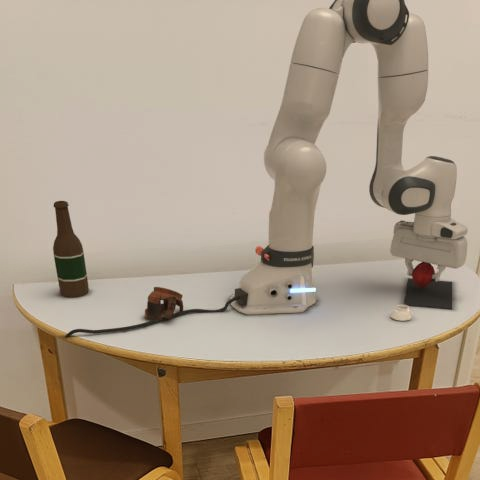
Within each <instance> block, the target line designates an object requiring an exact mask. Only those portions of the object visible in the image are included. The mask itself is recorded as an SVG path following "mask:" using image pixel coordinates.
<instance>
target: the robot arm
mask: <svg viewBox="0 0 480 480" xmlns="http://www.w3.org/2000/svg"><path fill="white" fill-rule="evenodd" d="M354 43H356V44H357V43H358V44H370V45H372V47H373V49H374V51H375V54H376V60H377V100H378V101H377V102H378V103H377V105H378V107H377V108H378V109H377V124H376V125H377V127H376V148H375V149H376V150H375V151H376V153H375V165H374V170H373V173H372V176H371V178H370V181H369V185H368V187H369V188H368V189H369V190H368V191H369V196H370V199H371V200H372V202H373V203H374V204H375V205H377V206H378V207H380V208H384V209H386V210H387V211H389V212H392V213H394V214H397V215H400V216H409V215H413V214H414V218H413V221H406V220H399V221H398V222H397V221H396V223H395V224H394V226H393V236H392V239H391V242H390V248H389V252H390V254H391V256H392V257H397V258H401V259H404V264H405V266H406V269H407V273H406V275H407V276H408V277H409V276H410V277H412V273H413V270H414V268H415V267H414V265H413V262H414V261H416V262H420V263H422V262H426V263H430V264H431V265H436V266H437V267H436V269H437V271H436V272H435V273H434V274H432V279H431V280H432V281H436V282H437V281H440V279H441V275H442V274H443V272H444V271H445V270H446V269H447V268H449V269H450V268H451V269H455V270H456V269H460V268H461V267H463V266H464V265H465V264H466V261H467V255H468V241H467V240H468V239H467V238H466V237H465V236H466V235H467V234H468V231H469V228H468V227H467V226H466V225H464V224H463V223H461V222H459V221H457V220H456V219H454V218H453V217H452V202H453V200H454V198H455V194H456V186H457V177H458V176H457V175H458V169H457V165H456V163H455V161H453V160H452V159H449V158H444V157H441V156H437V155H436V156H435V155H429V156H426V157H425V158H424V160H422V161H421V162H420V163H419V164H417V165H415V166H413V167H411V168H409V169H407V170H405V169H404V166H403V163H402V162H403V161H402V159H403V157H402V155H403V140H404V138H403V137H404V130H405V127H406V124H407V122H408V121H409V120H410V118H411V117H413V116H414V115H415V114H416V113H418V111H419V110H420V109H421V108H422V106H423V105H424V103H425V101H426V96H427V93H428V87H429V47H428V46H429V45H428V38H427V31H426V25H425V23H424V20H423V19H422V18H421V17H420V16H419V15H417V14H414V13H410V11H409V9H408V6H407V5H406V3H405V0H334V1H333V2H332V4H331V5H330V6H329V7H319V8H315V9H312V10H310V11H309V12H308V13H307V14H306V15H305V16H304V18H303V21H302V23H301V25H300V29H299V31H298V34H297V37H296V40H295V44H294V45H293V46H294V47H293V50H292V54H291V58H290V63H289V67H288V72H287V76H286V81H285V85H284V86H285V87H284V91H283V94H282V95H283V97H282V100H281V103H280V107H279V109H278V113H277V116H276V119H275V121H274V125H273V127H272V130H271V134H270V136H269V140H268V143H267V144H266V147H265V149H264V152H263V164H264V168H265V171H266V173H267V174H268V176H269V177H270V178H271V179H273V181H274V191H273V196H272V201H271V207H270V210H269V213H268V243H267V244H268V245H267V246H266V247H264V248H263V247H262V246H260V245H257V246H256V248H255V250H254V251H255V253H256V254H257V255H258V256H260V261H259V262H258V263H257V264H256V265H254V267H253V266H252V268H251V269H250V270H249V271H247V272H246V273H245V274H243V275H242V276H241V278H240V281H239V285H238V288H234V293H232V294H231V295H230V297H229V300H228V301H226V303H225V304H224V306H223V307H222V308H219V309H204V308H192V309H186V310H183V311H181V312H180V311H178V312H174V314H173V317H172V318H176V317H179V316H182V315H187V314H191V313H201V314H202V313H203V314H205V313H207V314H208V313H210V314H211V313H222V312H225V311H226V310H227V309H228V308H229V306H230V305H231V306H232V308H233V309H235V310H236V311H237V312H239V313H241V314H244V315H266V314H292V313H294V314H295V313H296V314H297V313H303V312H305V311H306V310H307V308H309V307H312V306H313V305H314V304H315V303H317V299H316V295H315V292H316V289H317V288H316V287H314V281H313V267H314V261H315V246H314V245H313V242H314V241H313V240H314V238H313V237H314V222H315V213H316V208H317V203H318V200H319V199H318V198H319V195H320V191H321V186H322V183H323V181H324V180H325V177H326V174H327V162H326V158H325V155H324V154H323V153H322V151H321V149H320V148H319V147H318V146H317V145H316V142H317V139H318V136H319V134H320V132H321V129H322V128H323V125H324V123H325V121H326V120H327V119H328V117H329V115H330V113H331V110H332V106H333V101H334V97H335V94H336V89H337V86H338V85H337V84H338V81H339V77H340V72H341V69H342V63H343V59H344V57H345V54H346V52H347V50H348V49H349V47H350V46H351V44H354ZM172 318H169V319H166V318H165V317H164V316H162V318H161V319H155V320H149V321H146V322H141V323H138V324H133V325H129V326H128V325H127V326H122V327H114V328H103V329H87V328H76V329H72V330H70V331H69V332H68V333H66V335H65V336H64V338H70V337H71V336H72V335H75V334H78V333H83V334H95V335H96V334H105V333H116V332H124V331H130V330H134V329H140V328H145V327H146V326H151V325H153V324H157V323H161V322H164V321H166V320H170V319H172ZM160 321H161V322H160Z"/></svg>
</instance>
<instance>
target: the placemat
mask: <svg viewBox="0 0 480 480" xmlns="http://www.w3.org/2000/svg"><path fill="white" fill-rule="evenodd" d="M403 305H407V306H409V307H419V308H430V309H441V310H451V311H452V310H453V281H447V280H439V281H437V282H436V281H432V282H431V283H430V284H429V285H427V286H425V287H424V288H420V287H419V286H417V285H416V284H415V282H414V281H413V278H409V277H408V279H407V284H406V289H405V295H404V300H403Z"/></svg>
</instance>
